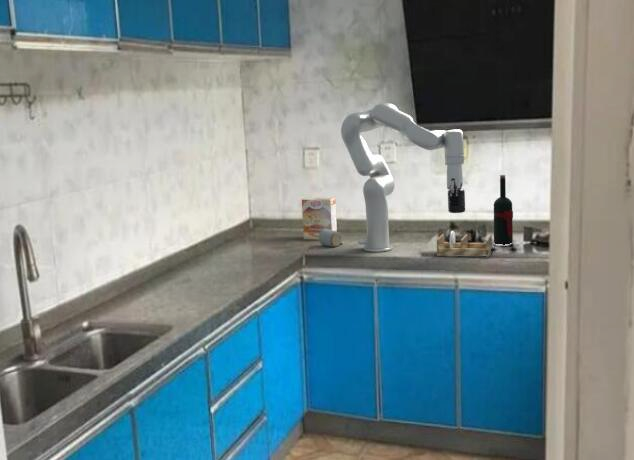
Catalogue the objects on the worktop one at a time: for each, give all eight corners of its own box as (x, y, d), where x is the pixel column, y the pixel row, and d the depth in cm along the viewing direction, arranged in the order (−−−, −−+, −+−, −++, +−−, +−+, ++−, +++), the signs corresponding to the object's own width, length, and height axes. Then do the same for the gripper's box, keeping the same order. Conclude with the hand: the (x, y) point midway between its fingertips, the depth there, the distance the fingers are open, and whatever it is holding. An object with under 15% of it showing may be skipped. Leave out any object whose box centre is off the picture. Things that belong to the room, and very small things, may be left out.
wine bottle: (502, 248, 300) (501, 177, 295) (490, 244, 310) (489, 175, 305) (519, 246, 302) (518, 175, 297) (506, 242, 312) (506, 173, 307)
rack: (437, 255, 293) (436, 239, 292) (442, 249, 304) (442, 234, 303) (487, 257, 286) (487, 240, 285) (491, 250, 297) (491, 234, 295)
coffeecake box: (303, 239, 344) (300, 199, 340) (309, 236, 350) (306, 197, 347) (332, 240, 338) (330, 199, 335) (337, 237, 345) (335, 197, 341)
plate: (449, 253, 293) (449, 232, 291) (453, 249, 301) (453, 228, 299) (451, 253, 292) (451, 232, 291) (455, 249, 300) (455, 228, 299)
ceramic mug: (331, 248, 319) (331, 231, 318) (318, 246, 325) (318, 229, 324) (348, 244, 326) (347, 228, 325) (335, 243, 332) (334, 226, 331)
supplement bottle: (446, 213, 291) (444, 183, 289) (451, 210, 297) (450, 181, 295) (462, 213, 288) (461, 183, 286) (467, 210, 294) (466, 181, 292)
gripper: (449, 159, 298) (451, 201, 301) (440, 163, 282) (443, 208, 285) (467, 158, 295) (469, 201, 298) (459, 162, 280) (462, 207, 282)
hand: (456, 204), depth 292 cm, fingers closed on supplement bottle, 6 cm apart
